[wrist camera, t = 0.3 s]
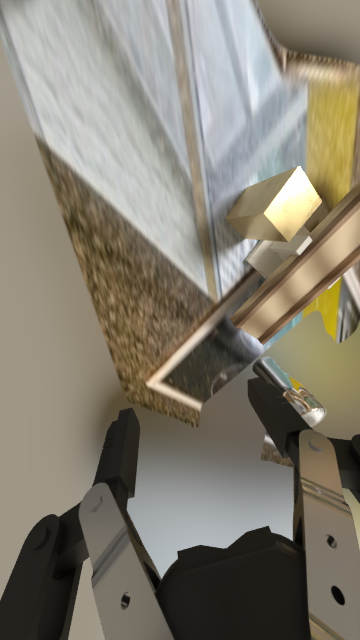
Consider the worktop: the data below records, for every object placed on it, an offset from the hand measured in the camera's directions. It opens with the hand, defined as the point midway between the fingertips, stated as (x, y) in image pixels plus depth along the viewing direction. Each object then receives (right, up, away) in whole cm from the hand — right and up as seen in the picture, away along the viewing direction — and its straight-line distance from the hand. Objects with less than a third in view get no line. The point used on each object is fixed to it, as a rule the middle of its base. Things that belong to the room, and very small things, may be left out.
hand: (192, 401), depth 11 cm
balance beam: (+20, +15, +16) cm, 30 cm away
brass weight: (+10, +23, +16) cm, 29 cm away
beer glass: (+21, -6, +34) cm, 41 cm away
